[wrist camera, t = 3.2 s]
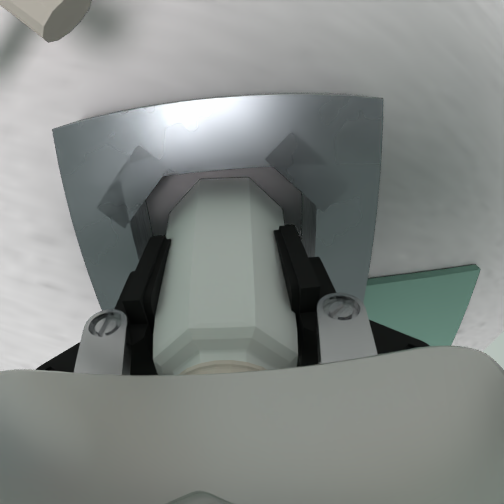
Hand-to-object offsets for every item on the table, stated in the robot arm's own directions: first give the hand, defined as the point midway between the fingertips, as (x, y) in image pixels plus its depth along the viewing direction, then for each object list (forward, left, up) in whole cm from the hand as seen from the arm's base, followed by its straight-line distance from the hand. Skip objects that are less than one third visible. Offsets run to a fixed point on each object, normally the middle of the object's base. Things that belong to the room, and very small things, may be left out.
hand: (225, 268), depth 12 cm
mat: (-11, +8, -3) cm, 14 cm away
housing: (0, 0, -3) cm, 3 cm away
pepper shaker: (0, 0, -3) cm, 3 cm away
